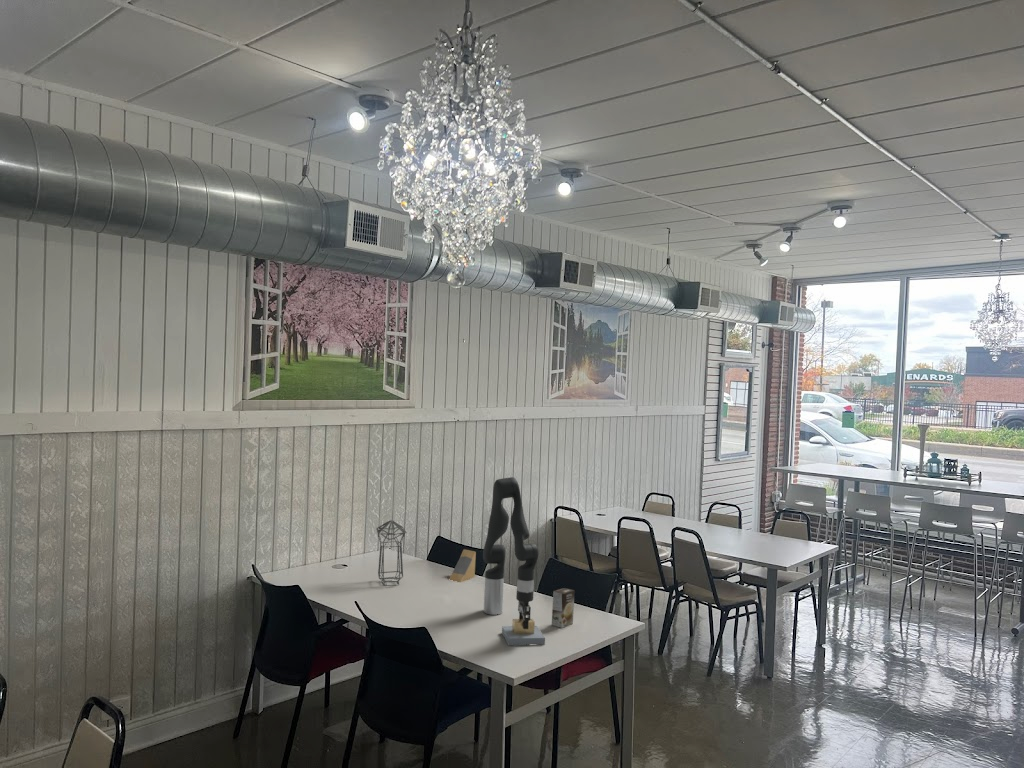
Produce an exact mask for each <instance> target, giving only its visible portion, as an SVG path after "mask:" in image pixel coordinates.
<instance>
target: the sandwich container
mask: <svg viewBox="0 0 1024 768" xmlns="http://www.w3.org/2000/svg"><path fill="white" fill-rule="evenodd" d="M476 555H477V552H476V551H474V550H469V549H462V552H461V554H460V557H459V559H458V560H457V563H456V565H455V567H454V568H453V571H452V573H451V575H450V577H449V578H448V580H449V579H450V580H453V581H452V582H455V581H457V582H456V583H464V582H465V581H468V580H471V579H473V578H475V576H476V575H475V573H476V557H477V556H476ZM450 580H449V581H450Z"/></svg>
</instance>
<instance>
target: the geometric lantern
mask: <svg viewBox="0 0 1024 768" xmlns="http://www.w3.org/2000/svg"><path fill="white" fill-rule="evenodd" d="M375 529H376V534H377V537H378V539H379V540H378V541H379V545H380V546H379V556H378V557H379V558H378V570H377V575H378V579H379V580H380V581H381V582H382V581H383V582H382V583H384V584H383V586H386V583H395V582H396V583H397V584H399V585H400V580H401V579H403V578H404V569H403V567H404V566H403V565H404V564H403V550H402V549H403V547H402V546H403V540H404V538H405V536H406V533H407V531H406V530H405V527H404V526H403V525H401V524H399V523H397V522H395V520H393V519H391V520H388V521H386V522H384V523H383V524H381V525H379V526H378V527H376V528H375ZM395 529H396V530H395ZM386 530H387V531H386ZM391 530H392V532H390V531H391ZM398 531H400V532H398ZM397 532H398V533H397ZM380 535H381V536H382V537H384V540H383V541H382V539H381V536H380ZM385 535H386V536H385ZM390 536H393V538H390ZM400 536H401V538H400V541H399V540H398V537H400ZM386 539H387V541H386ZM390 540H394V542H395V543H396V544H397V545H396V546H395V545H394V546H390V545H389V546H388V548H397V560H396V561H397V563H396V564H397V565H396V570H393V571H391V570H390V571H385V562H384V561H385V559H384V558H385V547H386V545H387V543H389V542H390ZM387 573H395V576H389V577H387V576H386V577H385V576H384V575H385V574H387ZM392 580H397V581H392Z"/></svg>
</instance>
